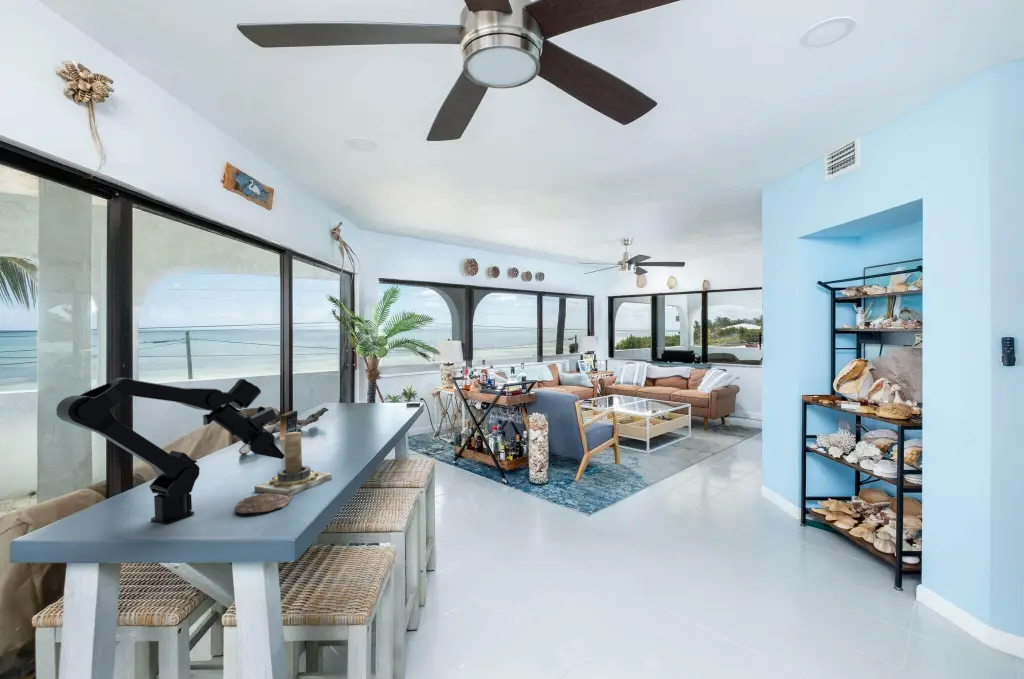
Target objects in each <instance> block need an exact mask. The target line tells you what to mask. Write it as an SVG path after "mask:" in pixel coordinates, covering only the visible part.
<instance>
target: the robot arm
mask: <svg viewBox="0 0 1024 679" xmlns="http://www.w3.org/2000/svg"><path fill="white" fill-rule="evenodd" d="M261 393H262V390H261V389H260V388H259V387H258V386H257V385H255V384H254V383H252V382H249V381H248V380H246V379H245V378H239V379H238V380H237V381H236V382H235V384H234V385H233V386H232V387H231V389H230V390H228V392H227V391H226V392H225V391H222V390H221V389H219V388H209V387H208V388H207V387H179V386H173V385H166V384H160V383H156V382H155V383H154V382H149V381H142V380H137V379H133V378H130V377H116V378H114V379H112V380H111V381H109V382H107V383H105V384H102V385H100V386H97V387H95V388H92V389H89V390H87V391H85V392H83V393H82V394H80V395H70V396H66V397H65V398H63V399H61V401H60V402H59V403H58V404H57V406H56V416H57V417H58V419H60V420H61V421H63V422H67V423H68V424H72V425H74V426H77V427H79V428H82V429H84V430H88V431H91V432H94V433H96V434H98V435H100V436H101V437H103V438H105V439H106V440H108V441H109V442H111V443H113V444H114V445H116V446H118V447H120V448H121V449H123V450H125V452H128V453H130V455H132V456H134V457H136V458H137V459H139V460H141V461H143V462H144V463H146V464H148V465H149V466H150V467H151V468H152V470H153V472H154V473H155V475H156V476H157V477H156V478H155V479H154V480H153V481H152V482H151V484H150V485H149V489H150V491H151V492H152V494H156V495H154V496H153V498H154V499H153V500H154V501H153V502H154V503H153V504H154V516H153V517H151V518H150V521H151V522H154V523H161V524H165V525H167V524H171V523H173V522H174V523H175V522H176V521H178V520H183V519H185V518H187V517H190V516H192V515H194V514H195V511H192V510H193V508H192V507H193V505H192V504H193V503H192V494H191V493H192V492H193V490H194V489H193V488H194V486H195V484H196V481H197V479H198V478H199V476H200V469H201V468H200V466H199V465H198V464H197V462H198V460H196V459H195V460H194V459H192V458H190V456H189V455H188V454H186V453H185V452H183V451H182V452H181V451H176V450H170V451H169V453H168V452H167V451H165V450H164V449H163V448H161V447H160V446H158V445H157V444H155V443H153V442H152V441H150V440H149V439H147V438H146V437H143V435H141V434H139V433H138V432H136V431H134V430H133V429H132V428H130V427H128V425H125V424H124V423H123V422H121V421H119V420H118V419H117V418H116V416H115V414H114V413H113V411H112V410H111V409H112V408H114V407H116V406H117V405H118V404H119V403H121V401H123V400H125V399H126V398H127V397H129V396H130V397H137V398H143V399H144V398H145V399H152V400H160V401H167V402H175V403H178V404H181V405H183V406H185V407H188V408H192V409H195V410H201V411H209V413H205V414H203V415H202V418H203V422H202V423H203V426H207V425H211V423H213V422H214V423H215V424H217V425H218V426H220V427H221V428H223V429H224V430H225V431H227V432H228V433H230V435H232V436H234V437H235V438H237V439H238V440H239V441H241V442H242V443H243V444H245V445H247V447H248V450H249V451H251V452H252V453H253V454H254V455H258V456H264V457H268V458H269V457H270V458H275V459H279V460H282V459H283V460H284V459H285V453H283V452H282V450H280V448H278V446H277V445H276V444H275V435H274V434H273V433H272V432H270V431H269V430H267V429H265V427H264V425H267V424H268V423H270V422H272V421H275V420H277V418H278V415H277V413H276V411H275V410H274V408H273V407H271V406H267V407H266V408H265V407H264V406H258V407H257V408H256V409H255V413H254V414H253V415H251V416H249V415H248V414H244V413H243V412H242V411H240V410H242V409H248V408H249V407H250V406H251V405H252V403H254V401H255V400H256V399H257V398H258V397H259V395H261Z"/></svg>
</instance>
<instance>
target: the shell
mask: <svg viewBox="0 0 1024 679" xmlns="http://www.w3.org/2000/svg"><path fill="white" fill-rule="evenodd" d="M292 498H293V495H281V494H272V493H260V494H257V495H251V496H249V497H245V498H244V499H242V500H241V501H239V502H238V503H237V504H236V505H235V506H234V511H235V512H234V513H235V514H236V515H237V516H238V515H239V516H240V517H247V516H258V515H267V513H268V514H271V513H274V512H277V511H280V510H282V509H284V508H286V507H287V506H288V505H289V504H290V503H291V501H292ZM289 502H290V503H289ZM286 505H287V506H286ZM285 506H286V507H285ZM283 507H284V508H283ZM276 510H277V511H276ZM270 512H271V513H270Z"/></svg>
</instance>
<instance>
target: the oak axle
mask: <svg viewBox="0 0 1024 679" xmlns="http://www.w3.org/2000/svg"><path fill="white" fill-rule="evenodd" d="M302 450H303V449H302V432H300V431H293V432H292V431H291V432H286V433H284V455H285V457H284V461H285V462H284V463H285V468H286V474H290V473H298V472H301V471H302V466H303V458H302V457H303V455H302V454H303V453H302V452H303V451H302Z"/></svg>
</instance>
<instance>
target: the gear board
mask: <svg viewBox="0 0 1024 679" xmlns="http://www.w3.org/2000/svg"><path fill="white" fill-rule="evenodd" d="M276 473H277V475H274V476H273V477H271V479H270V480H267V481H264V482H262V483H258V484H256V485H254V486H253V487H254V492H256V491H258V493H262V492H264V493H263V494H265V493H272V494H281V495H292V494H293V495H295V494H298V493H300V492H302V490H303V491H305V490H307V489H309V487H310V488H312V487H315V486H317V485H320V484H322V483H324V482H326V480H327V481H330V480H332V479H333V478H332V477H333V476H332V472H331V473H330V472H321V471H315V470H312V469H311V467H310V466H308V465H302V471H301V472H298V473H290V474H286V467H285V468H282V469H280V470H278V471H277V472H276ZM331 478H332V479H331ZM321 482H322V483H321ZM319 483H320V484H319ZM316 484H317V485H316ZM314 485H315V486H314ZM311 486H312V487H311ZM306 488H307V489H306ZM304 489H305V490H304ZM299 491H300V492H299ZM297 492H298V493H297ZM294 493H295V494H294ZM293 495H292V496H293Z"/></svg>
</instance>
